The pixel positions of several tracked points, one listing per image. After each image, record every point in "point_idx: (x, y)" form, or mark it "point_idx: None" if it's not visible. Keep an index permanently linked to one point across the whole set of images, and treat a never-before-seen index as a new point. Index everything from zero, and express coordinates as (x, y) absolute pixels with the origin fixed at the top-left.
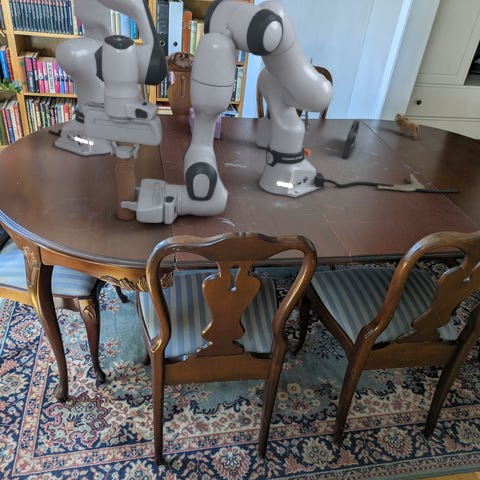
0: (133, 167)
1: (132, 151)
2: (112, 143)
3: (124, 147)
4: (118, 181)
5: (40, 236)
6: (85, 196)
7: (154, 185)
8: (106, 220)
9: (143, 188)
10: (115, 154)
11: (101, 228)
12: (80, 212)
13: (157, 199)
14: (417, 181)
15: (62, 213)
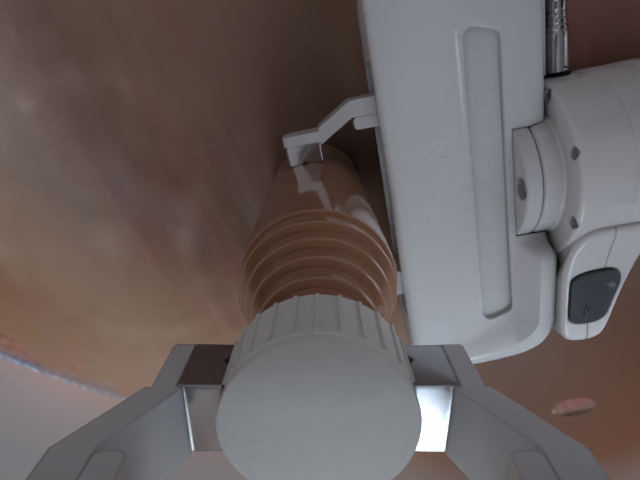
0: (385, 267)
1: (430, 429)
2: (132, 431)
3: (311, 396)
4: None
5: (89, 387)
6: (57, 55)
7: (466, 64)
8: None
9: (407, 143)
10: None
11: None
12: (122, 212)
13: (505, 242)
14: None
15: (60, 237)
